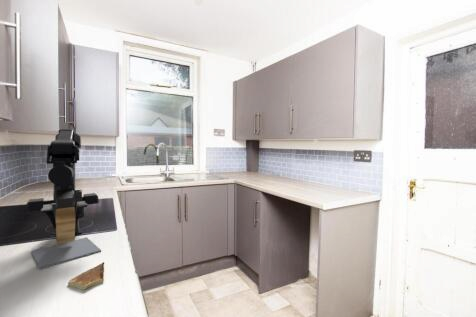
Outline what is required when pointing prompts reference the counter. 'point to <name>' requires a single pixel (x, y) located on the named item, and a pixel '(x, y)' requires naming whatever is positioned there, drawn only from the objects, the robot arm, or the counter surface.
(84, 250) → the slate mat
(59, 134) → the robot arm
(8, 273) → the counter surface
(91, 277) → the shard
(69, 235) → the wood block
